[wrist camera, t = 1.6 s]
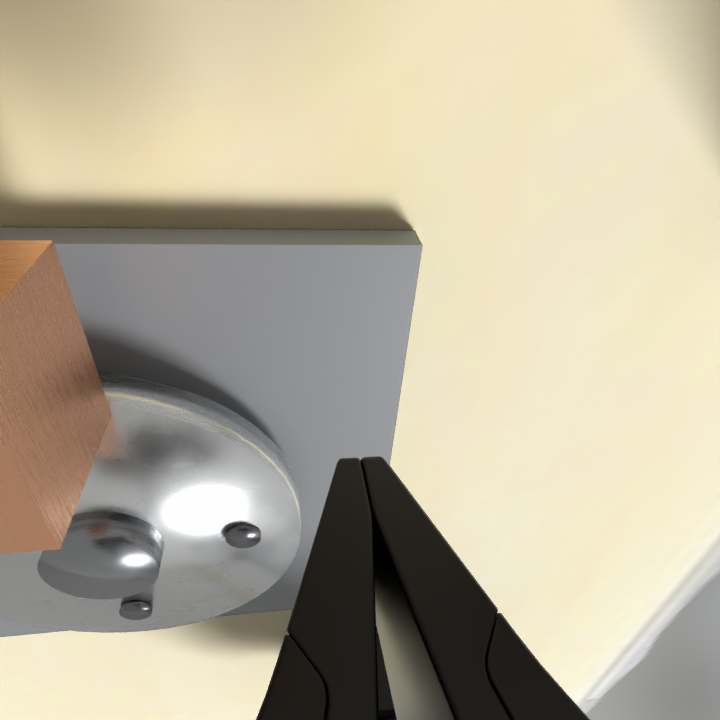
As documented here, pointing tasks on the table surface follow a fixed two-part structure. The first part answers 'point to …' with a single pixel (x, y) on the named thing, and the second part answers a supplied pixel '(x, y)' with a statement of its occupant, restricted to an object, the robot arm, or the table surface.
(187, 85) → the table surface
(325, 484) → the base board
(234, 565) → the flange plate
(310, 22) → the table surface
